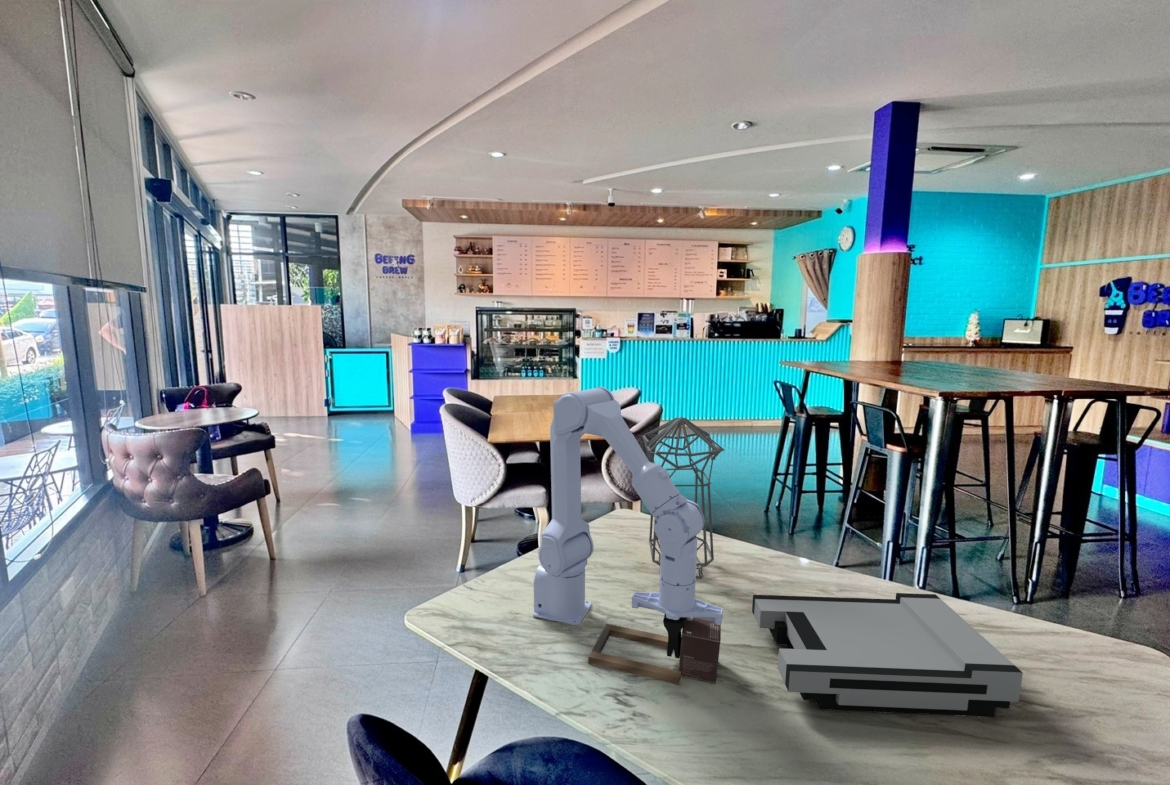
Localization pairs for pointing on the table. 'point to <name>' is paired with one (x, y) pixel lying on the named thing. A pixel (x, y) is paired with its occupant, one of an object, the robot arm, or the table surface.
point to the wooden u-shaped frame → (629, 665)
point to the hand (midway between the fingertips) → (674, 654)
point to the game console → (886, 655)
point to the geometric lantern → (715, 451)
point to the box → (700, 649)
